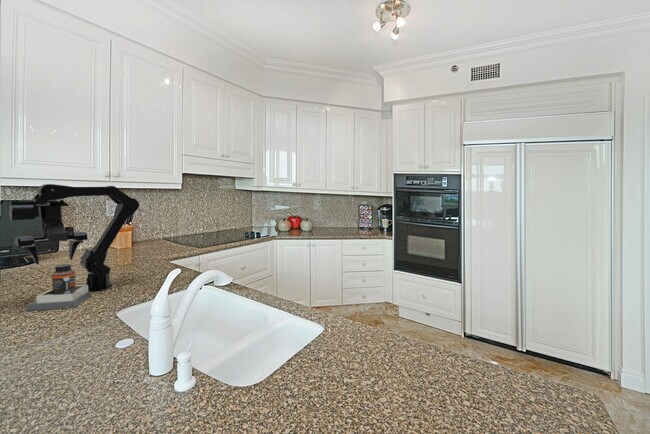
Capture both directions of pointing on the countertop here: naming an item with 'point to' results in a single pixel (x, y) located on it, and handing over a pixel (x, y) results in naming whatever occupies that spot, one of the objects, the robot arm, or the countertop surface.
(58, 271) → the supplement bottle
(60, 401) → the countertop surface
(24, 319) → the countertop surface
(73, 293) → the plate
